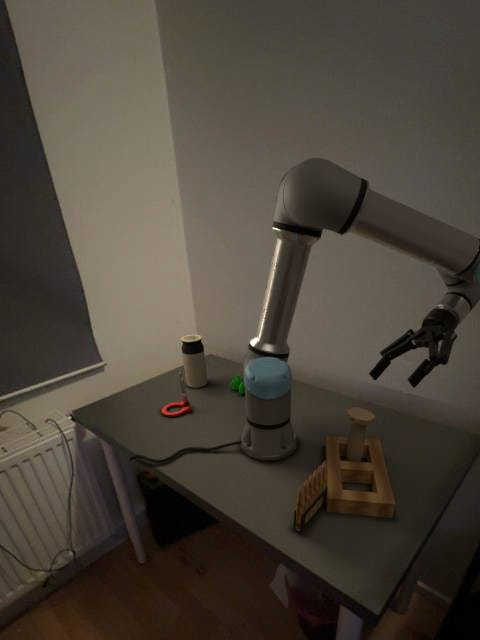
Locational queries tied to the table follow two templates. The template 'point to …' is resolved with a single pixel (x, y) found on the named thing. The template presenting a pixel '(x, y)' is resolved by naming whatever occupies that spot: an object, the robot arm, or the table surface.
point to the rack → (358, 480)
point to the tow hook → (184, 403)
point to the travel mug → (194, 361)
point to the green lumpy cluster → (238, 384)
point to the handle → (357, 432)
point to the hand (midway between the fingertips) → (390, 380)
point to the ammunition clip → (311, 498)
